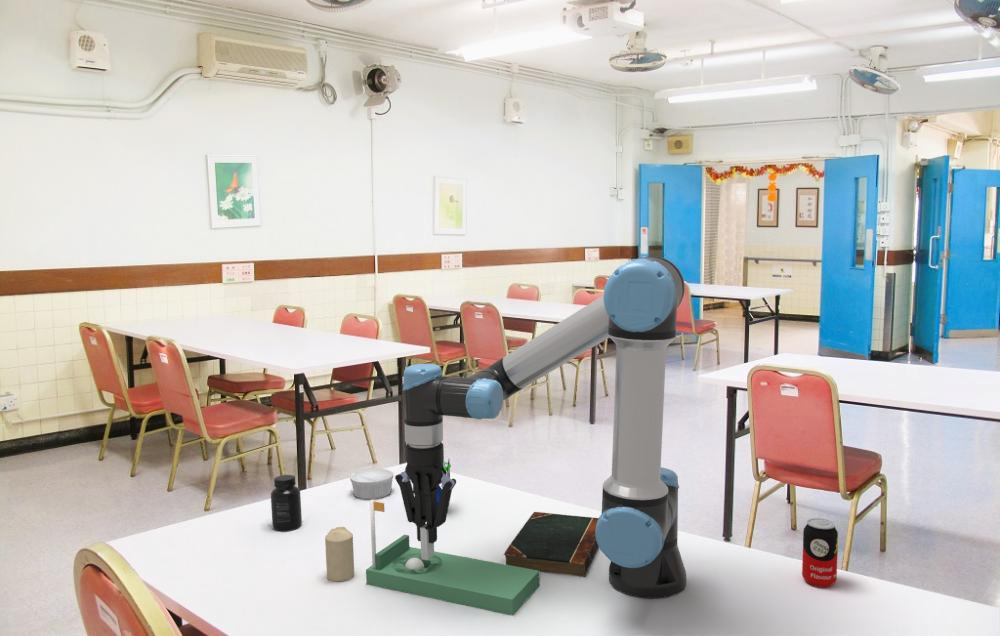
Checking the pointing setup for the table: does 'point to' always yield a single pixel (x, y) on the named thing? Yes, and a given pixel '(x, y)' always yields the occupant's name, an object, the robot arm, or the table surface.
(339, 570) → the candle
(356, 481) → the ramekin
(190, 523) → the table surface
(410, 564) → the ball
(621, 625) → the table surface
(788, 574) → the table surface
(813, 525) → the beverage can
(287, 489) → the supplement bottle
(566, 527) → the book
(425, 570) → the green
